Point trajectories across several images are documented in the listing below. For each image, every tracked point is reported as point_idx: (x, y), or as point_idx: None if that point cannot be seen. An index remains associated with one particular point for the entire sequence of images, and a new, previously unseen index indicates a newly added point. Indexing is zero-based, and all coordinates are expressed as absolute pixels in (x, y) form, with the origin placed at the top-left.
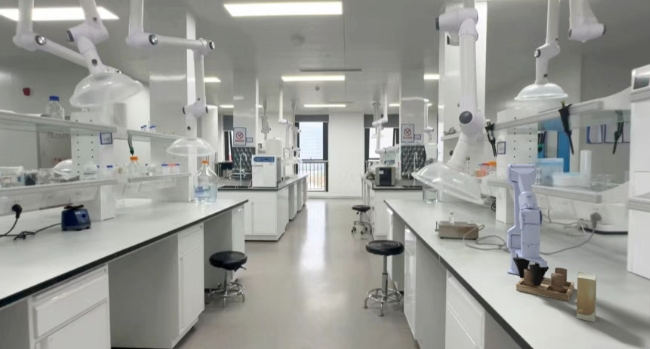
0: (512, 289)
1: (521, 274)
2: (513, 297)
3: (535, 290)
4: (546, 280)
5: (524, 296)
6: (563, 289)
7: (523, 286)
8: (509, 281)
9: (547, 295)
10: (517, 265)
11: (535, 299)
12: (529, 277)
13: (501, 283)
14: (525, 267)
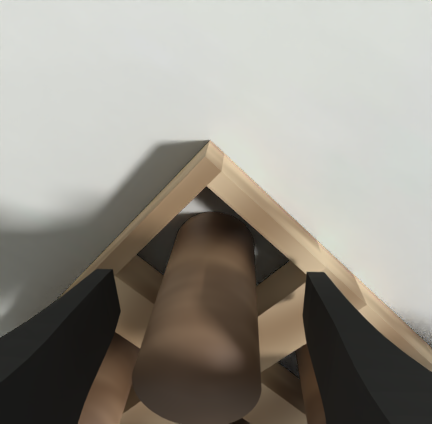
0: (230, 116)
1: (312, 301)
2: (23, 3)
3: (111, 249)
4: (276, 413)
5: (65, 125)
6: (128, 404)
7: (164, 198)
8: (428, 206)
9: (74, 283)
10: (374, 357)
11: (13, 173)
12: (158, 303)
13: (402, 100)
14: (330, 405)
